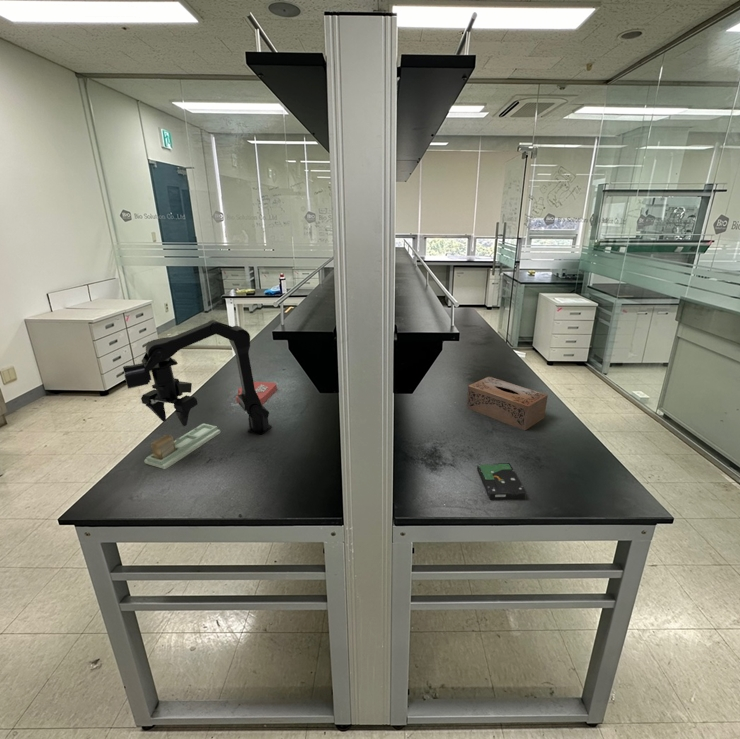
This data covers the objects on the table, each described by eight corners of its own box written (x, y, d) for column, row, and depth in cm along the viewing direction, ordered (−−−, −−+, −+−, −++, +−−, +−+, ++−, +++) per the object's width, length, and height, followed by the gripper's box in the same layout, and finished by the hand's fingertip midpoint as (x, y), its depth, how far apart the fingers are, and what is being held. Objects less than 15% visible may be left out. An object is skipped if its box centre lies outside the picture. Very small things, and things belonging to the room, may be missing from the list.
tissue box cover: (544, 418, 161) (547, 394, 158) (524, 431, 152) (528, 406, 149) (486, 398, 179) (488, 376, 176) (466, 408, 170) (468, 385, 167)
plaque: (247, 379, 193) (277, 381, 190) (248, 387, 194) (278, 389, 192) (227, 395, 177) (260, 398, 174) (229, 403, 178) (261, 406, 175)
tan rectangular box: (176, 452, 140) (173, 436, 138) (161, 461, 135) (158, 445, 132) (169, 450, 141) (165, 434, 139) (154, 459, 136) (150, 443, 134)
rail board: (220, 432, 154) (219, 426, 153) (165, 469, 133) (163, 462, 132) (202, 428, 157) (200, 422, 156) (144, 463, 136) (143, 456, 135)
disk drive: (526, 501, 117) (508, 469, 131) (527, 492, 116) (509, 462, 130) (489, 501, 117) (475, 470, 130) (490, 493, 116) (476, 462, 129)
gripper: (205, 374, 135) (214, 416, 141) (163, 367, 142) (173, 408, 148) (178, 387, 125) (188, 432, 131) (134, 379, 133) (146, 423, 138)
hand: (174, 423), depth 137 cm, fingers open, 9 cm apart
